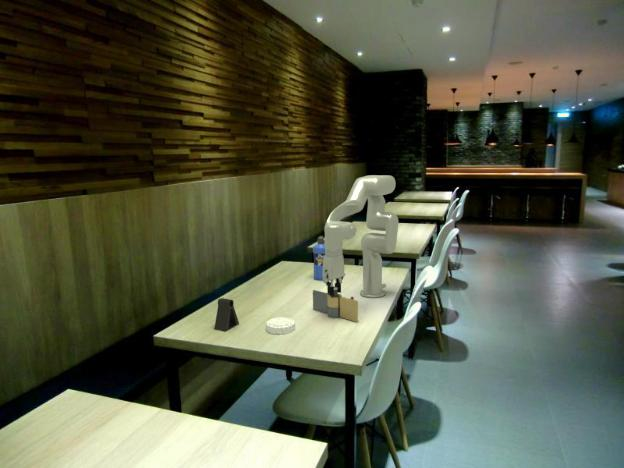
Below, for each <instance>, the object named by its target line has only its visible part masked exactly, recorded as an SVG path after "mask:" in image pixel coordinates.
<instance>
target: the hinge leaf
mask: <svg viewBox="0 0 624 468" xmlns="http://www.w3.org/2000/svg"><path fill="white" fill-rule="evenodd" d="M327 306H328V307H331V308H338V307H340V317H339V318H342V319H346V320H349V321H352V322H355V323H356V322H359V301H358V300H355V299H354V300H352V299H350V298H348V297H343V296H342V294H341V293H338V297H331V295H327Z"/></svg>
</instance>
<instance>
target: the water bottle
mask: <svg viewBox="0 0 624 468" xmlns="http://www.w3.org/2000/svg"><path fill="white" fill-rule="evenodd" d="M316 242H317V244H315V245H313V246H312V253H313V280H314V281H318V282H323V281H322V280H323V260H324V257H325V236H323V235H319V236H318V237H317V241H316Z"/></svg>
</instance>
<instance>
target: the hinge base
mask: <svg viewBox="0 0 624 468" xmlns="http://www.w3.org/2000/svg"><path fill="white" fill-rule="evenodd" d="M327 295H328V293H327V292H323V291H321V290H316V289H313V290H312V311H317V312H319V313H322V314H326V315H327V318H331V319H338V318H339V319H340V318H341V317H340V307H338V308H331V307H328V306H327Z"/></svg>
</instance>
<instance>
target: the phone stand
mask: <svg viewBox="0 0 624 468" xmlns="http://www.w3.org/2000/svg"><path fill="white" fill-rule="evenodd" d="M234 304H235V303H234V300H233V299H230V298H229V299H228V298H222V297H221V298H218V300H217V310H216V316H215V322H214V328H213V329H214V330H218V331H221V332H228V331H229V330H231V329H234V328H235V327H237V326H239V325H240V321H239V319H238V315H237V312H236V309H235V305H234Z"/></svg>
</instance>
